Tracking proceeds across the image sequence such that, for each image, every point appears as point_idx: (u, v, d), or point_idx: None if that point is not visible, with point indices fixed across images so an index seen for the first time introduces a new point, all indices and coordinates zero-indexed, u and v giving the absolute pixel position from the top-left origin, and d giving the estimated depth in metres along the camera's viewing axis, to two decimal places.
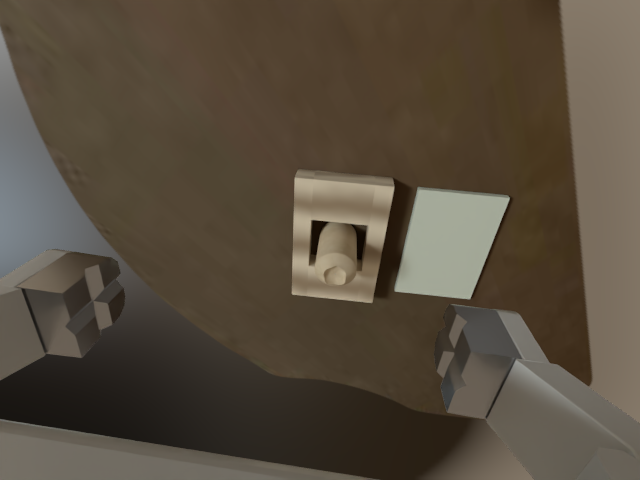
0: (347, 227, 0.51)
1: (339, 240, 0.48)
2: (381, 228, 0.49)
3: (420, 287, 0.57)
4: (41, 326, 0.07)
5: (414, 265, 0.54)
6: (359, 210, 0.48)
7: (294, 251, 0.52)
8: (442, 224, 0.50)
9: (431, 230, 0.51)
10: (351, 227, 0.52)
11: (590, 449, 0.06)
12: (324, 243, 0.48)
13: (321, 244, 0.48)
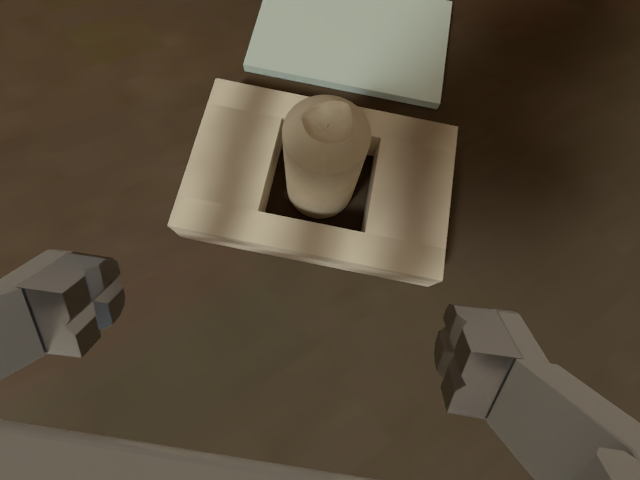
0: None
1: None
2: (288, 99, 0.29)
3: (430, 66, 0.33)
4: (41, 326, 0.07)
5: (383, 73, 0.33)
6: (249, 129, 0.28)
7: (327, 254, 0.26)
8: (307, 36, 0.33)
9: (316, 50, 0.33)
10: None
11: (589, 449, 0.06)
12: (289, 173, 0.24)
13: (294, 182, 0.24)
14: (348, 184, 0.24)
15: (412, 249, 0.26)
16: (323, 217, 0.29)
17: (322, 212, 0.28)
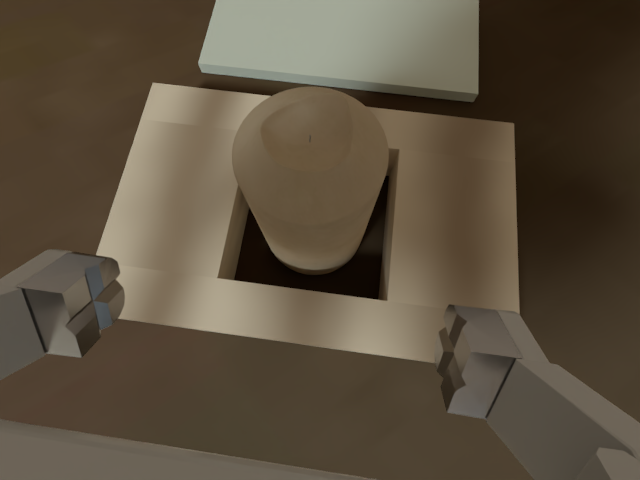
0: None
1: None
2: None
3: (458, 43, 0.24)
4: (41, 326, 0.07)
5: (393, 58, 0.23)
6: (202, 152, 0.19)
7: (330, 342, 0.16)
8: (285, 18, 0.24)
9: (298, 35, 0.24)
10: None
11: (589, 449, 0.06)
12: (256, 220, 0.15)
13: (267, 233, 0.15)
14: (355, 232, 0.14)
15: None
16: (322, 273, 0.19)
17: (319, 269, 0.18)
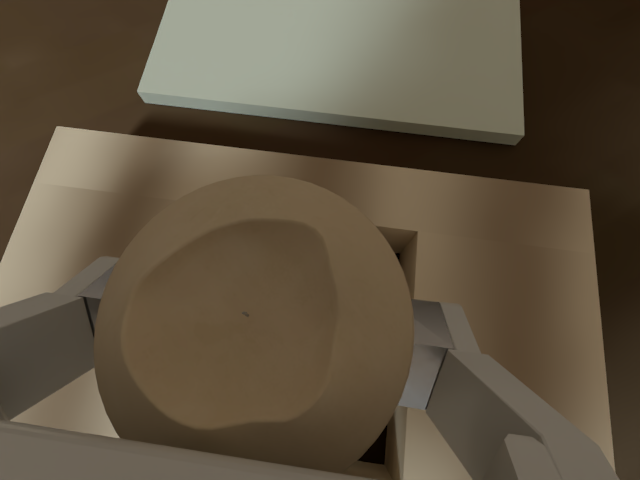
0: None
1: None
2: (210, 160, 0.13)
3: (494, 63, 0.17)
4: None
5: (405, 85, 0.17)
6: (121, 235, 0.12)
7: None
8: (258, 30, 0.18)
9: (275, 52, 0.17)
10: None
11: None
12: None
13: None
14: None
15: None
16: None
17: None
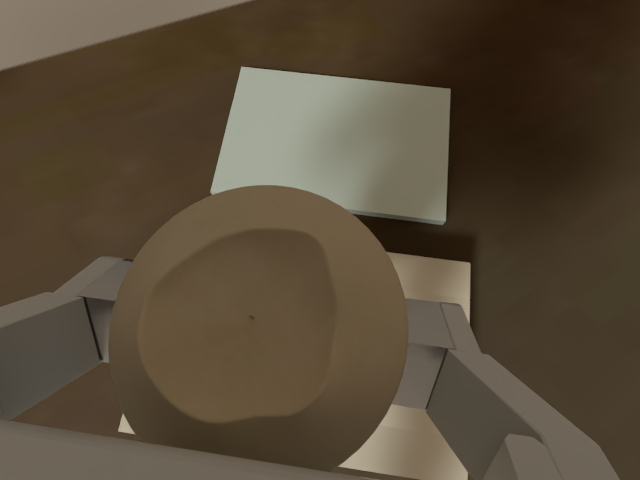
0: None
1: None
2: None
3: (430, 173, 0.28)
4: (99, 335, 0.07)
5: (374, 188, 0.27)
6: None
7: None
8: (284, 149, 0.29)
9: (294, 165, 0.28)
10: None
11: None
12: None
13: None
14: None
15: (425, 442, 0.20)
16: None
17: None
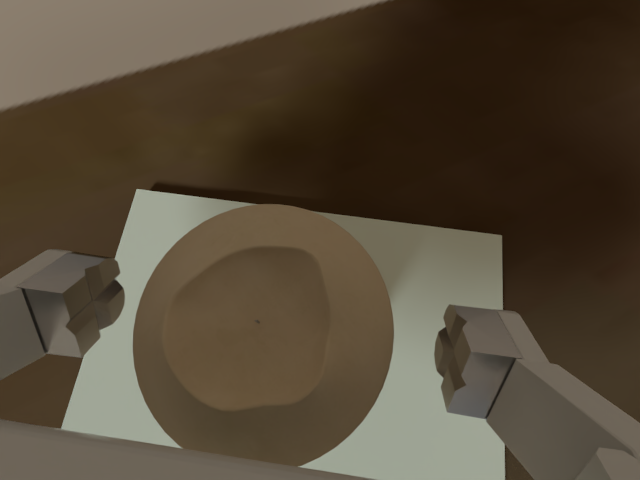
0: None
1: None
2: None
3: (472, 418, 0.15)
4: (41, 326, 0.07)
5: (366, 451, 0.14)
6: None
7: None
8: None
9: None
10: None
11: (590, 449, 0.06)
12: None
13: None
14: None
15: None
16: None
17: None
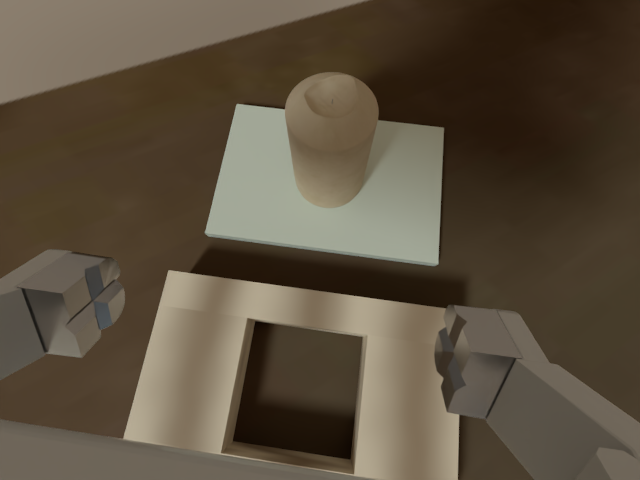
0: None
1: None
2: (255, 291, 0.24)
3: (423, 214, 0.28)
4: (41, 326, 0.07)
5: (368, 229, 0.28)
6: (209, 336, 0.23)
7: None
8: (278, 189, 0.29)
9: (288, 206, 0.28)
10: None
11: (590, 450, 0.06)
12: (295, 158, 0.23)
13: (301, 167, 0.23)
14: (358, 164, 0.23)
15: None
16: (335, 205, 0.28)
17: (333, 199, 0.27)
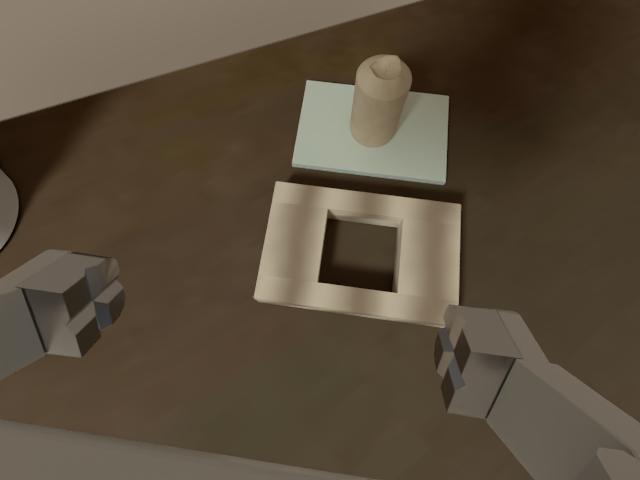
0: None
1: None
2: (331, 193, 0.38)
3: (435, 151, 0.42)
4: (41, 326, 0.07)
5: (399, 160, 0.42)
6: (304, 219, 0.38)
7: (371, 312, 0.35)
8: (338, 135, 0.43)
9: (346, 146, 0.43)
10: None
11: (589, 450, 0.06)
12: (358, 109, 0.37)
13: (362, 114, 0.38)
14: (397, 112, 0.37)
15: (433, 303, 0.35)
16: (377, 145, 0.42)
17: (377, 139, 0.41)
